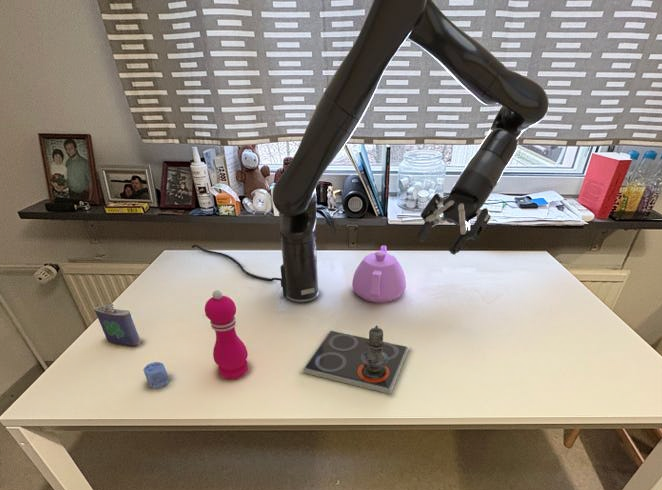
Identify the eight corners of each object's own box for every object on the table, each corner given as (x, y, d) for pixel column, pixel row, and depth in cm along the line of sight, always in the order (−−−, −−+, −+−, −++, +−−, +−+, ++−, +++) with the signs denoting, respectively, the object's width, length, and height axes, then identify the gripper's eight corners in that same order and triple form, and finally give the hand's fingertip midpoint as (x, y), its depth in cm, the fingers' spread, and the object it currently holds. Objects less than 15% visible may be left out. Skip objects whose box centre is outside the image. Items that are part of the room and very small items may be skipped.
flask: (143, 341, 100) (129, 303, 93) (135, 348, 97) (120, 310, 91) (112, 335, 101) (95, 298, 95) (103, 342, 99) (85, 304, 93)
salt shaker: (385, 381, 86) (389, 335, 79) (358, 377, 87) (359, 331, 80) (389, 364, 91) (393, 319, 83) (363, 361, 92) (364, 315, 84)
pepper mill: (221, 384, 88) (201, 303, 75) (214, 365, 93) (193, 287, 80) (254, 374, 90) (239, 295, 78) (245, 356, 95) (230, 279, 83)
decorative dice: (170, 383, 88) (165, 369, 85) (151, 390, 86) (145, 376, 83) (166, 373, 90) (161, 359, 88) (147, 380, 89) (141, 365, 86)
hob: (303, 373, 91) (303, 367, 90) (330, 334, 103) (330, 329, 102) (390, 394, 86) (390, 388, 85) (408, 351, 98) (408, 345, 97)
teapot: (402, 313, 111) (406, 272, 103) (346, 308, 113) (346, 267, 105) (407, 276, 128) (411, 239, 120) (358, 272, 130) (358, 235, 122)
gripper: (445, 161, 87) (403, 227, 88) (503, 175, 79) (456, 248, 80) (456, 183, 93) (417, 244, 94) (511, 198, 85) (468, 265, 86)
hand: (435, 246), depth 87 cm, fingers open, 8 cm apart
